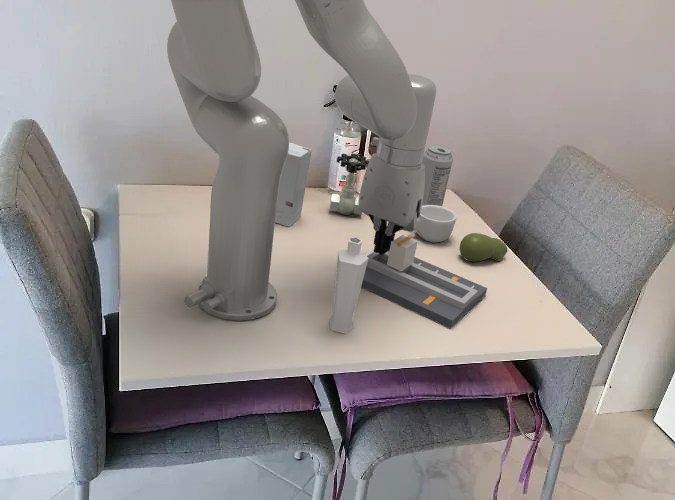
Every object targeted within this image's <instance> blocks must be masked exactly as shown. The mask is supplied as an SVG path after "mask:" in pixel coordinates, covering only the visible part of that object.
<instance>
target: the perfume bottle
mask: <svg viewBox="0 0 675 500" xmlns="http://www.w3.org/2000/svg"><path fill="white" fill-rule="evenodd" d="M347 240H348V244H347V248H346V249H342V250H338V251H337V260H336V273H335V282H334V283H335V285H334V286H335V287H334V295H333V308H332V315H331V317H330V319H329V328H330V331H333V332H335V333H336V332H337V333H342V334H345V335H346V334H348V333H349V332H350V331H352V330H353V329H354V326H355V325H354V315H355V312H356V308H357V304H358V300H359V296H360V292H361V289H362V287H361V285H362V282H363V278H364V274H365V270H366V266H367V262H368V259H369V258H368V257H367V256H368V255H365V254H364V253H362V252H361V248H362V243H363V239H361V238H359V237H357V236H349V237H348V238H347Z"/></svg>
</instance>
